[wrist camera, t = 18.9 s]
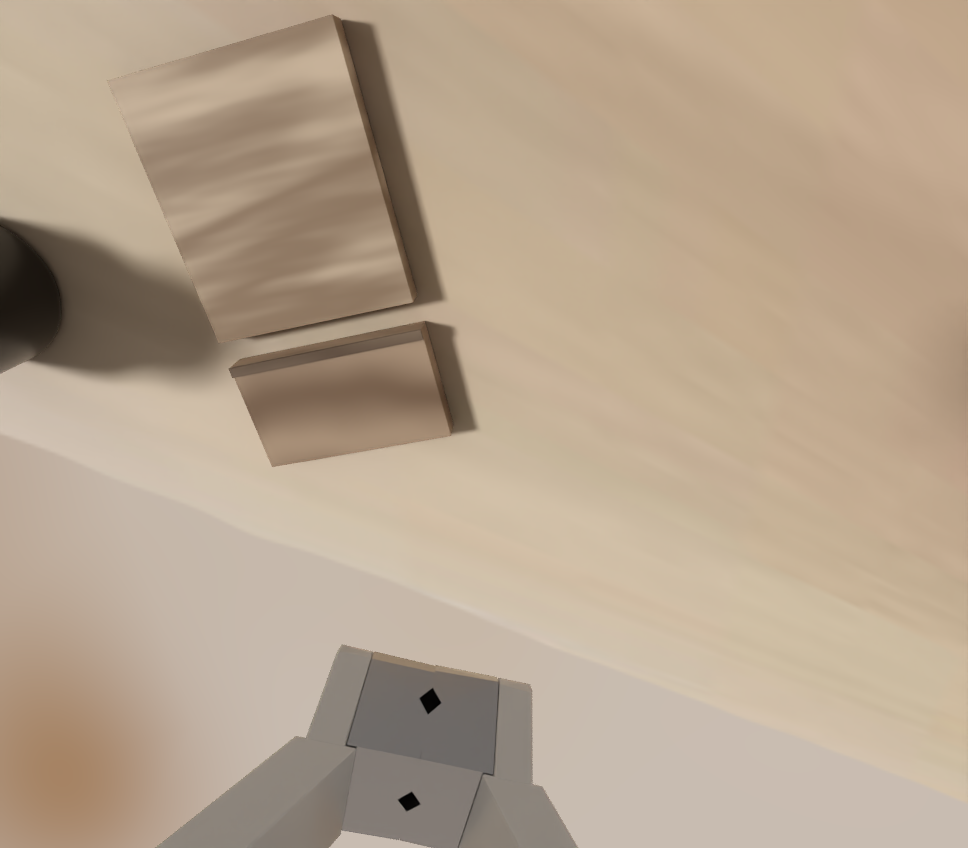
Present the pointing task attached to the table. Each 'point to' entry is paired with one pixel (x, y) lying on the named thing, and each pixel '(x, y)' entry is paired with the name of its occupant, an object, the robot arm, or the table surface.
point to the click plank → (270, 180)
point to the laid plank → (345, 395)
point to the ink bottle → (25, 302)
